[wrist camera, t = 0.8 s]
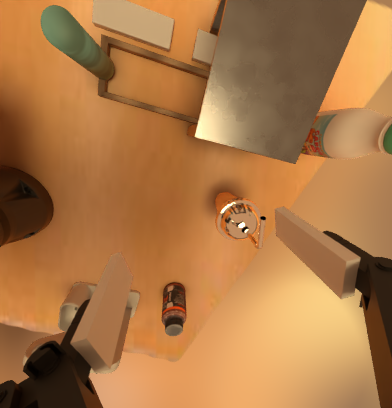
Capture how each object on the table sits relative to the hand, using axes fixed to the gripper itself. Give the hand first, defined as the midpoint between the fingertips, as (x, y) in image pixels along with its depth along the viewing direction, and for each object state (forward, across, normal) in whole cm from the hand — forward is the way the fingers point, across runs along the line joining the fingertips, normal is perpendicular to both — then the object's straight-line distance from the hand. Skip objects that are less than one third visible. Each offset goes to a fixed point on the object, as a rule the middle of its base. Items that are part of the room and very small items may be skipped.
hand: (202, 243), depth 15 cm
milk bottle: (+26, +27, +2) cm, 37 cm away
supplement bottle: (+26, -10, -31) cm, 42 cm away
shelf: (+26, +14, +12) cm, 32 cm away
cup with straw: (+26, +8, -8) cm, 29 cm away
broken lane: (+26, +7, +22) cm, 35 cm away
